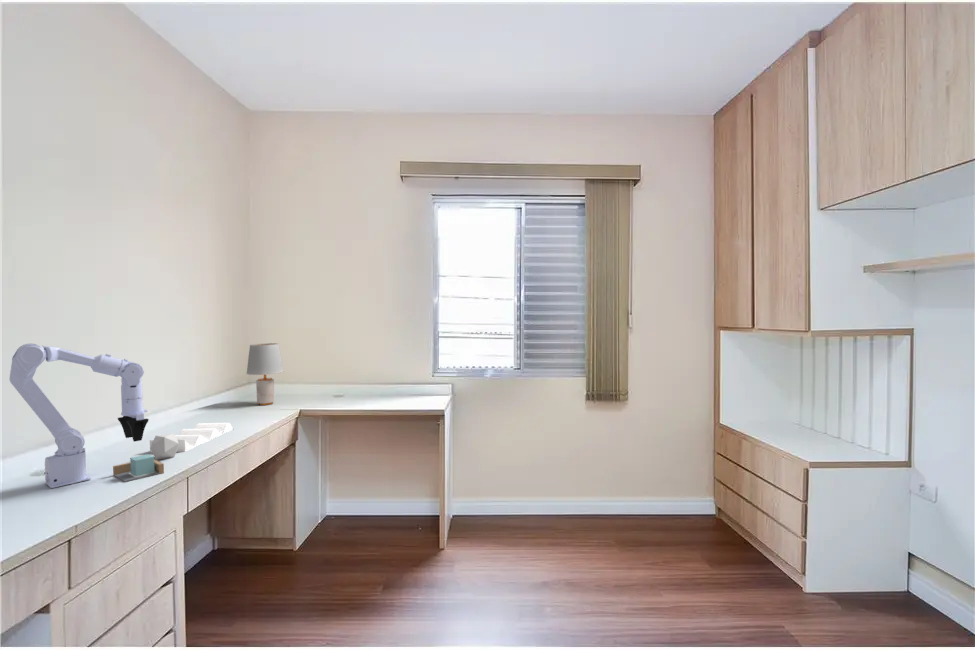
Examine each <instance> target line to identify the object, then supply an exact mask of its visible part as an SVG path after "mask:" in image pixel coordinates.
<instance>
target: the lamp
mask: <svg viewBox="0 0 975 650" xmlns="http://www.w3.org/2000/svg"><path fill="white" fill-rule="evenodd" d="M247 358H248V359H247V365H246V366H247V368H246V375H249V376H258V375H259V376H260V375H263V377H259V378H257V379H256V380H255V386H256V390H255V391H256V403H257V404H258V406H270V405H271V406H272V404H274V403H275V379H274V378H273V377H267V375H275V374H281V373H283V372H284V366H283V360H282V356H281V350H280V344H279V343H272V342H271V343H254V344H250V345H249V350H248V357H247Z"/></svg>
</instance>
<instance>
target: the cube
mask: <svg viewBox="0 0 975 650" xmlns="http://www.w3.org/2000/svg"><path fill="white" fill-rule="evenodd" d="M154 460H155V456H154V455H151V454H149V453H148V454H141V455H138V456H133V457H130V461H129V463H130V464H131V474H133V475H135V476H140V475H144V474H149V473H153V472H155V470H154Z"/></svg>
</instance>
